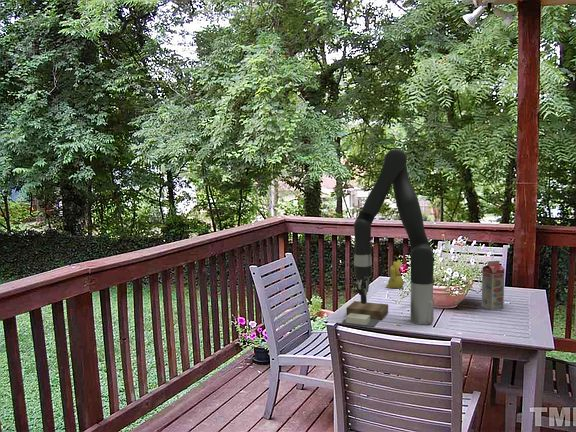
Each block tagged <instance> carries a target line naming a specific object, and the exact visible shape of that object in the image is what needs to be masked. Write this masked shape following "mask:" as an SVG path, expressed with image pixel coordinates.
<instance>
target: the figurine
mask: <svg viewBox="0 0 576 432" xmlns="http://www.w3.org/2000/svg"><path fill="white" fill-rule="evenodd" d="M392 263H393V264H392V265H391V266H390V268H389V272H390V274H389V276H390V277H389V279H388V281H387V283H388V284H386V288H387V289H388V288H389V289H400V288H402V287H403V286H404V284H405V281H403V279H402V278H401V274H400V272H399V268H400V266H402V265H403V264H402V261H401V260H400V259H397V261H393V262H392Z"/></svg>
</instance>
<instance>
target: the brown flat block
mask: <svg viewBox="0 0 576 432" xmlns="http://www.w3.org/2000/svg"><path fill="white" fill-rule="evenodd" d="M345 310H346V311H345V312H346V316H347V315H348V314H350V313H354V314H363V315H370V318H371V319H379V321H383V320H384V319H385V318H386V317H387V315H388V314H389V304H386V303H377V302H368V301H367V303H366V304H361V301H357V300H354V301H352V302H351V303H350V304H349V305H348V306H347V307H346V309H345Z"/></svg>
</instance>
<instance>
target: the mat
mask: <svg viewBox="0 0 576 432" xmlns="http://www.w3.org/2000/svg"><path fill="white" fill-rule="evenodd" d="M379 321H380V320H379V319H371V318H370V322H369V323H368V324H367V325H361V324H353V323H346V318H345V319H344V320H342V321H341V324H342V323H343V325H350V326H351V325H352V326H358V327H359V326H360V327H367V328H375V327H376V326H377V324H378V323H379Z"/></svg>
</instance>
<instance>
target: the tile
mask: <svg viewBox="0 0 576 432" xmlns="http://www.w3.org/2000/svg"><path fill="white" fill-rule="evenodd" d="M345 319H346V323H353V324H361V325H367V324H368V323H369V322H370V315H363V314H354V313H350V314H348V315H347V314H346V316H345Z"/></svg>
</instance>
